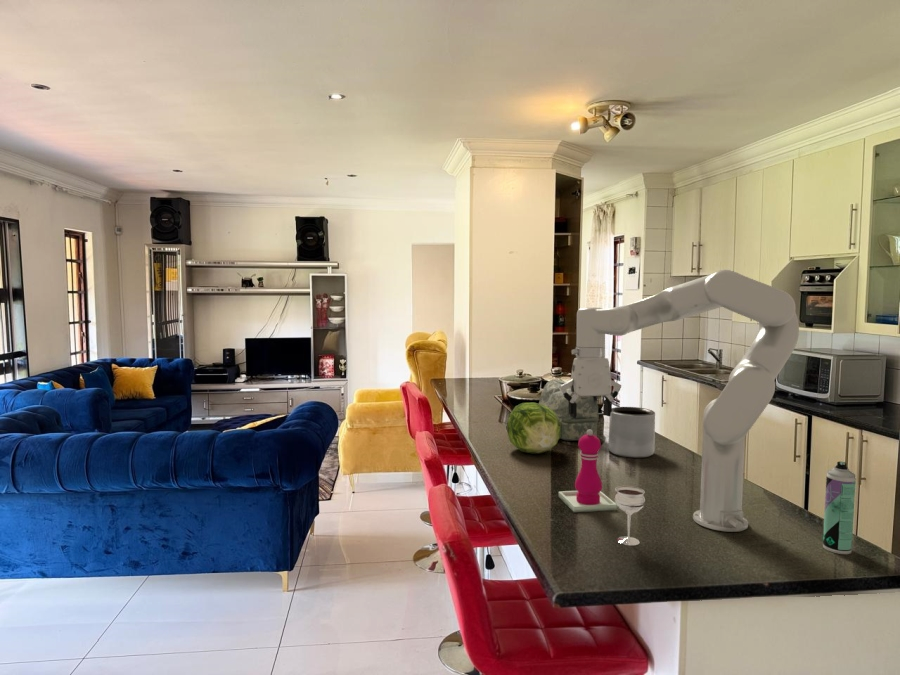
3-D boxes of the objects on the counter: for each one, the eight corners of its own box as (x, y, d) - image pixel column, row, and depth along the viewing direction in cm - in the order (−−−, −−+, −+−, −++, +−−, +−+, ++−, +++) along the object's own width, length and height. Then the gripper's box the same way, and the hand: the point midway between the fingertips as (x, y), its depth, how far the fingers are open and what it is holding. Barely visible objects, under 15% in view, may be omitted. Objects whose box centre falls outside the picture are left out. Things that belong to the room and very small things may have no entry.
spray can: (840, 543, 136) (845, 459, 135) (857, 554, 131) (862, 465, 129) (817, 544, 136) (821, 459, 135) (833, 554, 131) (838, 466, 129)
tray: (616, 509, 157) (617, 504, 157) (574, 512, 155) (574, 506, 155) (598, 494, 169) (598, 489, 168) (558, 496, 167) (558, 491, 167)
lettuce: (519, 464, 200) (530, 414, 197) (496, 438, 222) (506, 393, 219) (569, 468, 206) (581, 419, 203) (543, 442, 228) (552, 398, 225)
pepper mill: (602, 506, 157) (604, 433, 156) (574, 504, 159) (576, 431, 157) (601, 497, 164) (603, 427, 163) (574, 495, 166) (576, 425, 164)
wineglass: (609, 535, 140) (610, 485, 139) (636, 534, 141) (638, 485, 140) (619, 547, 134) (620, 495, 133) (648, 546, 134) (650, 495, 133)
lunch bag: (605, 440, 232) (606, 385, 231) (565, 444, 226) (566, 387, 224) (569, 426, 257) (570, 376, 255) (532, 429, 250) (533, 378, 249)
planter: (616, 459, 205) (617, 415, 204) (602, 447, 221) (603, 406, 220) (661, 459, 206) (662, 415, 205) (644, 447, 222) (645, 406, 221)
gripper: (564, 355, 154) (564, 420, 155) (627, 353, 156) (626, 417, 157) (555, 352, 161) (554, 414, 162) (614, 351, 164) (614, 412, 165)
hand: (590, 416), depth 160 cm, fingers open, 9 cm apart
